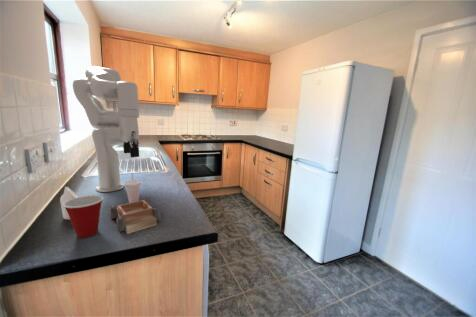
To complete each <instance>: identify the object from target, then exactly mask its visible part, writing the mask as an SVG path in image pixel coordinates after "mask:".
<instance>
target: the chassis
mask: <svg viewBox="0 0 476 317" xmlns="http://www.w3.org/2000/svg"><path fill="white" fill-rule="evenodd" d="M109 215H110V219H111V220H113V219H116V226H117V230H118V232H119V233H121V232H124V231H125V233H126V235H129V234H132V233H135V232H139V231H141V230H144V229H147V228H148V229H149V228H151V227H155V226H157V225H158V223H157V222H158V221H160V220H161V212H160V209H159V208H158V207H155V208H153V207H152V206H151V205H150V200H149V199H148V198H143V199H141V200H139V201H136V202H132V203H129V202H128V203H122V204H118V205H116V204H115V205H111V206H109Z"/></svg>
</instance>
